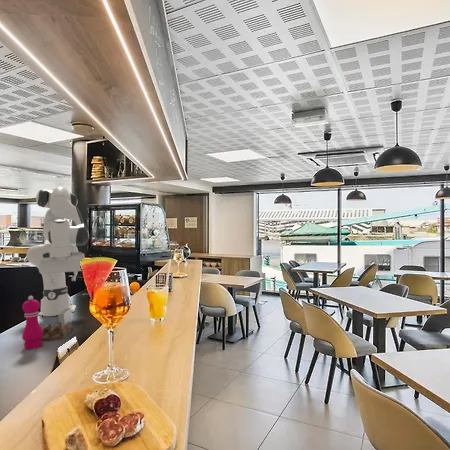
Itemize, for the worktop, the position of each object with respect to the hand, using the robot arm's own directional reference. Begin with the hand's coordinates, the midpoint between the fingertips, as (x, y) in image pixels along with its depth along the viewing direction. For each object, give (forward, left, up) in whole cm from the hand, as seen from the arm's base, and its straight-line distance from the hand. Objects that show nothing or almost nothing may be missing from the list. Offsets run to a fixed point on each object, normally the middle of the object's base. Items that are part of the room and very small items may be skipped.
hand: (63, 281), depth 164 cm
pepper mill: (+29, -4, -21) cm, 36 cm away
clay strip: (0, 0, -21) cm, 21 cm away
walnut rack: (+16, -2, -21) cm, 26 cm away
